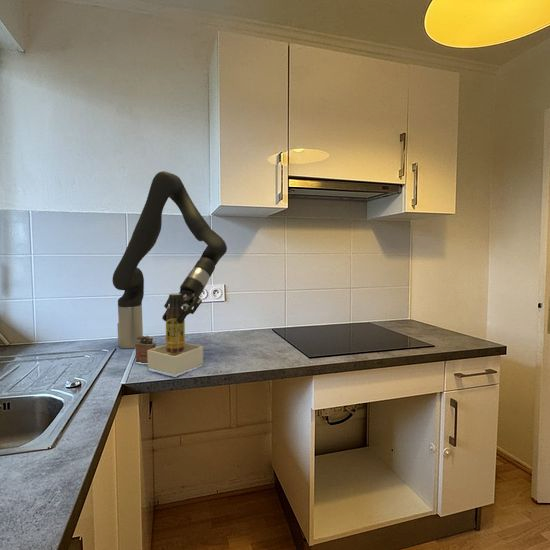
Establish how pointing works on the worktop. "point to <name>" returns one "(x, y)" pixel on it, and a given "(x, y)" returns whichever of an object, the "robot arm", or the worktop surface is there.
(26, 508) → the worktop surface
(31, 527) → the worktop surface
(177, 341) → the sauce bottle
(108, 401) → the worktop surface
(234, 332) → the worktop surface
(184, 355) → the crate
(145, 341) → the potted plant
